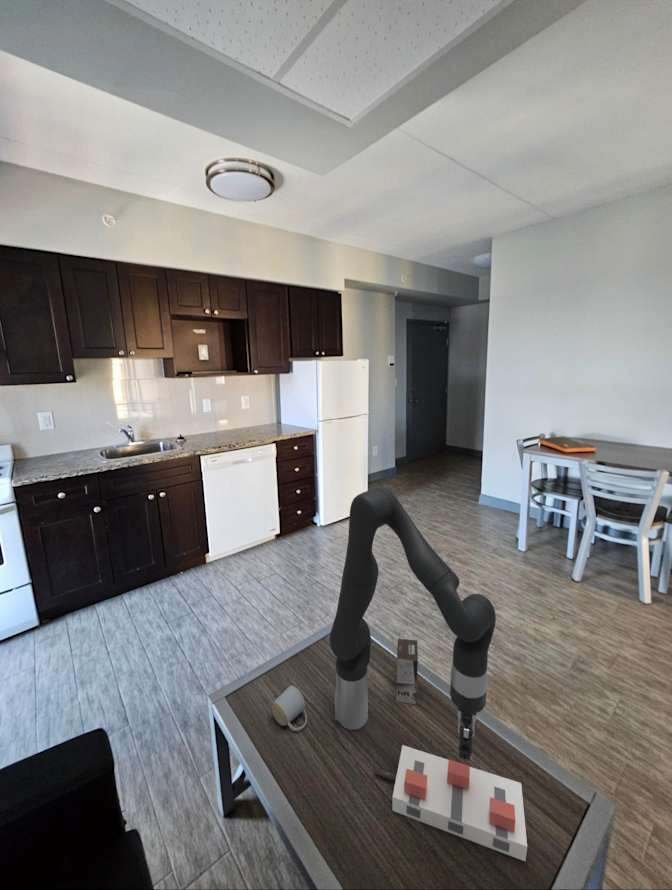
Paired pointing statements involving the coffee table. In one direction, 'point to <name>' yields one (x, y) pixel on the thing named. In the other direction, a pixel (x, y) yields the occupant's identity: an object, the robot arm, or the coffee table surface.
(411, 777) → the toggle
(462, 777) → the toggle
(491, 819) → the toggle
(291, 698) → the ceramic mug
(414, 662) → the coffee box
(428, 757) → the slider control panel
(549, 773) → the coffee table surface
